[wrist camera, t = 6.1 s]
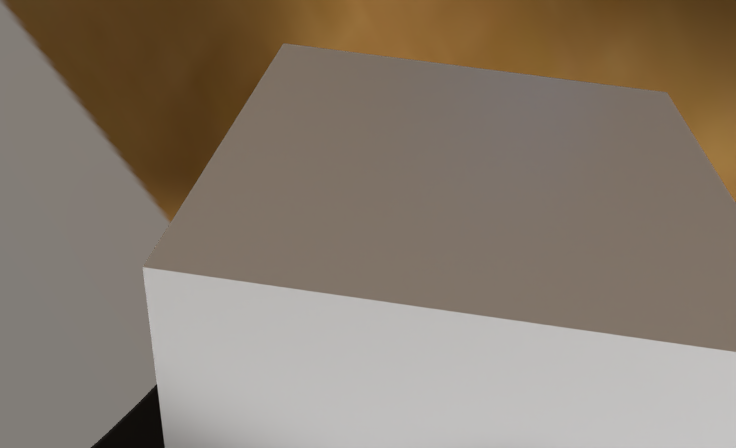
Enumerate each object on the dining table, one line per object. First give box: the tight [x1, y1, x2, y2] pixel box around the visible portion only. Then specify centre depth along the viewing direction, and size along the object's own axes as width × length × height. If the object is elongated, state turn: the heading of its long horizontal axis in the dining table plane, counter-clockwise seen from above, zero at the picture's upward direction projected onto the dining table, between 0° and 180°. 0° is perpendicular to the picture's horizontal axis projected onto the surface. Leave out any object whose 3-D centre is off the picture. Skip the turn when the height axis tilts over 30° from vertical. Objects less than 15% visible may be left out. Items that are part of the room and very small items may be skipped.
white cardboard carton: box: [143, 43, 736, 448], centre depth 11 cm, size 10×6×6 cm, turn 175°
